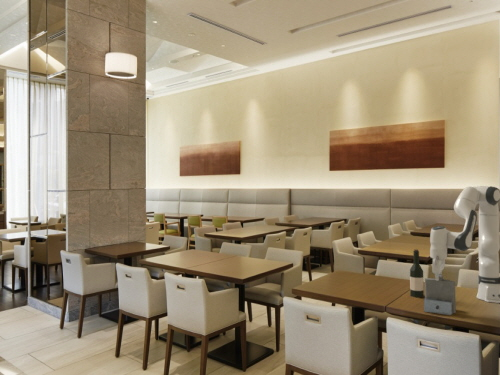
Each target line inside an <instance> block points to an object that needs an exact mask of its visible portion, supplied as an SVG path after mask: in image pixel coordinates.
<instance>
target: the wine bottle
mask: <svg viewBox="0 0 500 375" xmlns="http://www.w3.org/2000/svg"><path fill="white" fill-rule="evenodd" d="M409 290H410V291H409V292H410V293H409V295H410V297H413V298H423V297H424V298H425V288H424V270H423V268H422V267H421V265H420V250H419V249H416V248H415V249H414V250H413V263H412V265H411V267H410V268H409Z"/></svg>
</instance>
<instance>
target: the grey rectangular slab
mask: <svg viewBox="0 0 500 375" xmlns="http://www.w3.org/2000/svg"><path fill="white" fill-rule="evenodd" d="M424 298H433V299H440V300H448V301H452V314H456V312H457V307H456V306H457V305H456V304H457V303H456V300H457V299H456V281H455V280H450V279H445V278H444V275H443V274H442V275H439V280H438V281H436V280H435V278H429V277H427V278H424Z"/></svg>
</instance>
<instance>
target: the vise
mask: <svg viewBox="0 0 500 375" xmlns="http://www.w3.org/2000/svg"><path fill="white" fill-rule="evenodd" d="M423 312H425V313H431V314H439V315H445V316H452V315H453V313H452V301H448V300H440V299H433V298H425V297H424V298H423Z"/></svg>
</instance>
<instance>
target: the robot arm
mask: <svg viewBox="0 0 500 375" xmlns="http://www.w3.org/2000/svg"><path fill="white" fill-rule="evenodd" d="M499 202H500V189H499V187H496V186H487V185H480V186H479V185H477V186H467V187H465V188H463V190H462V191H461V192H460V194H458V196H457V198H456V200H455V202H454V204H453V210H454V212H455V214H456V215H457V216H458V217H459V218H461V219H464V220H465V223H464V226H463V229H462V231H460V232H458V231H457V232H455V231H450V230H448V229H447V227H446V226H443V225H436V226H433V227H431V230H430V234H429V235H430V236H429V237H430V238H429V242H430V248H429V257H430V258H431V259H432V268H431V269H432V271H431V272H432V274H434V279H435V280H436V281H438V280H439V275H442V276H443V274H442V273H443V270H444V269H445V266H446V259H448V248H449V249H453V250H457V251H462V252H466V251H467V250H469V249H470V248H471V247H472V245H473V236H474V233H475V229H476V224H477V221H478V244H477V245H478V246H477V247H478V248H477V249H478V250H477V252H478V275H477V284H478V290H477V295H476V296H475V297H476V299H479V300H481V301H485V302H486V303H496V304H500V256H499V251H500V208H499ZM477 205H478V206H479V207H478V213H477V212H476V208H477Z"/></svg>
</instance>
